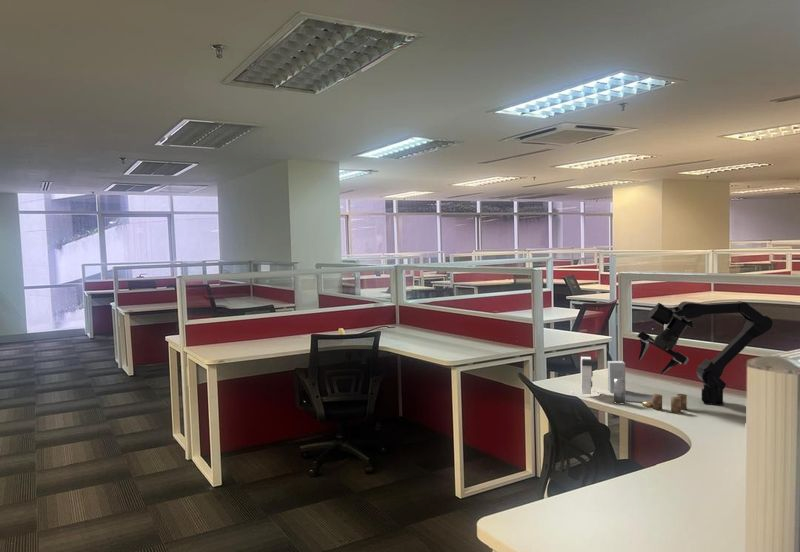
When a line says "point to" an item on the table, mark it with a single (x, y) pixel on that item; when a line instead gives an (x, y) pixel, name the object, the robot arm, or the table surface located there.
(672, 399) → the spacer
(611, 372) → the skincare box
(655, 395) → the spacer
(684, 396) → the spacer
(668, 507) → the table surface
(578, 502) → the table surface
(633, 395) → the mat
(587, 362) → the narrow upright pillar
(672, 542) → the table surface
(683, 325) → the robot arm
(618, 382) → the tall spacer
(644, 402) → the nut
